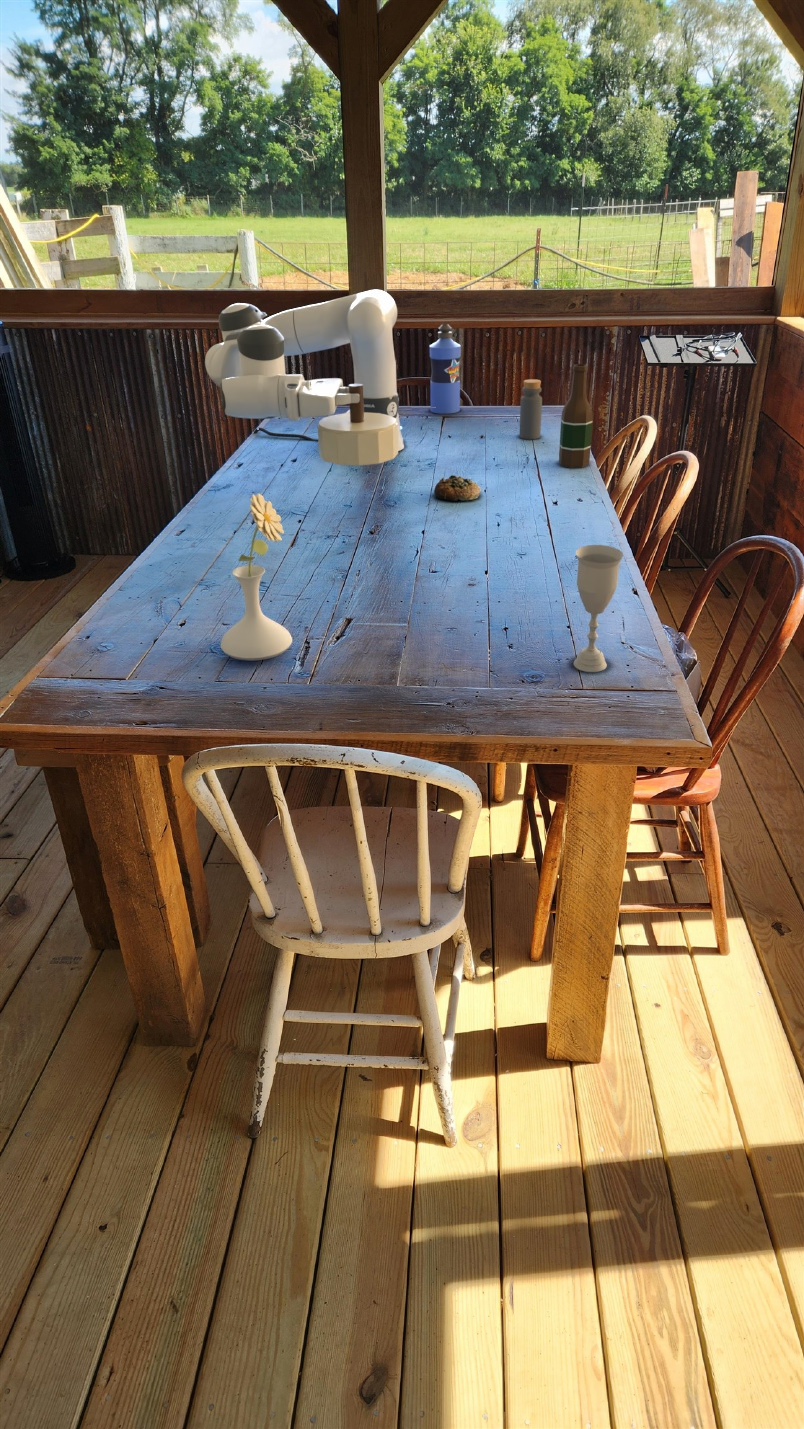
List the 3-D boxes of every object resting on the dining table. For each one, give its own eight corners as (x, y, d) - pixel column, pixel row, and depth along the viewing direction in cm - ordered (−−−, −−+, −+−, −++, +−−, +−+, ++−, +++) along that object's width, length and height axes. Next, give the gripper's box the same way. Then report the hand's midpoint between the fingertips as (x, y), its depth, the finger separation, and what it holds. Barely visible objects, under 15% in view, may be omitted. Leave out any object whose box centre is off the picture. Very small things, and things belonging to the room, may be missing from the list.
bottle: (540, 434, 269) (542, 378, 262) (540, 439, 264) (543, 382, 257) (519, 434, 270) (521, 378, 262) (519, 439, 265) (521, 382, 257)
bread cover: (304, 456, 209) (299, 386, 201) (359, 440, 219) (356, 373, 212) (358, 469, 199) (355, 396, 191) (412, 453, 209) (411, 383, 202)
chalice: (562, 655, 151) (570, 546, 142) (605, 652, 151) (615, 543, 142) (574, 676, 144) (582, 564, 135) (618, 674, 145) (629, 561, 136)
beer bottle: (591, 460, 245) (599, 362, 233) (586, 469, 238) (594, 368, 226) (561, 458, 247) (567, 361, 235) (555, 467, 241) (561, 367, 229)
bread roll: (423, 495, 222) (426, 473, 220) (454, 490, 230) (456, 469, 228) (460, 506, 216) (463, 484, 214) (490, 501, 224) (493, 479, 221)
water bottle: (466, 409, 297) (467, 323, 285) (446, 415, 292) (446, 327, 279) (443, 405, 303) (443, 320, 290) (423, 410, 297) (422, 324, 285)
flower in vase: (262, 673, 148) (245, 516, 135) (206, 657, 153) (185, 504, 140) (313, 641, 157) (301, 491, 144) (259, 627, 162) (243, 481, 150)
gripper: (303, 400, 214) (365, 399, 213) (289, 422, 196) (356, 421, 195) (301, 371, 211) (363, 370, 210) (287, 390, 193) (355, 389, 192)
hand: (360, 395), depth 203 cm, fingers closed on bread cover, 3 cm apart
